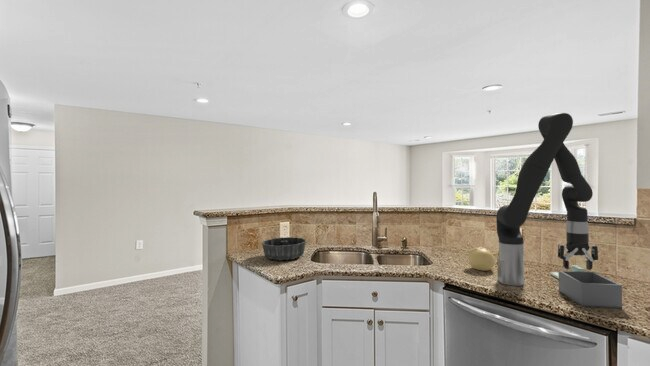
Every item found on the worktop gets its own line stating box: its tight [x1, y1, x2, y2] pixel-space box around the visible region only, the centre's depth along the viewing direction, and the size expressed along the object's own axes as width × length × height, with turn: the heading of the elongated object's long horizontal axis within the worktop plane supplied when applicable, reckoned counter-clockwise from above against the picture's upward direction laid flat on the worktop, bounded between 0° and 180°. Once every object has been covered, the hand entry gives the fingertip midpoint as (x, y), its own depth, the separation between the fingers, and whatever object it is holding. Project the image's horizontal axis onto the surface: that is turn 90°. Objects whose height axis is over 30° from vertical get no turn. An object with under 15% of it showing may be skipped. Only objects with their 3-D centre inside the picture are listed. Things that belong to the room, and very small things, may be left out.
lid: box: [550, 264, 585, 280], centre depth 139 cm, size 13×17×7 cm
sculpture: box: [467, 246, 496, 272], centre depth 160 cm, size 12×12×11 cm
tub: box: [558, 270, 623, 309], centre depth 119 cm, size 12×16×8 cm
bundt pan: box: [261, 236, 307, 261], centre depth 192 cm, size 26×26×10 cm
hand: (577, 269), depth 139 cm, fingers open, 8 cm apart
